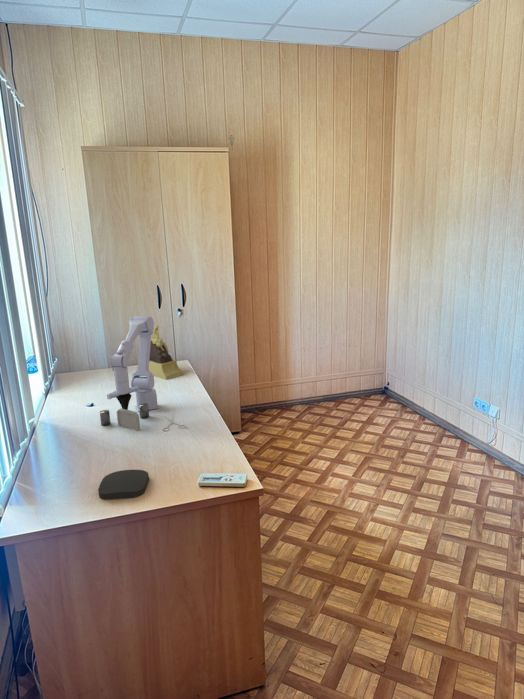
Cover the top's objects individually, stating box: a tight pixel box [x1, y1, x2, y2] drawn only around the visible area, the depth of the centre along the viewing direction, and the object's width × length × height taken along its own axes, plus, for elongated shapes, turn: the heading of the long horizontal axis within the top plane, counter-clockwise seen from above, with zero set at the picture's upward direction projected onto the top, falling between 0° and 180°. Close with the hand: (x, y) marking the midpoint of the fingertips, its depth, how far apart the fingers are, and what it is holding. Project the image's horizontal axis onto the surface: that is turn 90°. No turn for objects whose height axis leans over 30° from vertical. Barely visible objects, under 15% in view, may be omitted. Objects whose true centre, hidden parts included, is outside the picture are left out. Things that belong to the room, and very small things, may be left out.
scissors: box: [162, 414, 190, 432], centre depth 206 cm, size 11×1×20 cm
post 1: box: [99, 409, 112, 427], centre depth 206 cm, size 4×4×6 cm
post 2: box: [139, 403, 150, 420], centre depth 213 cm, size 4×4×6 cm
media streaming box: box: [97, 469, 150, 501], centre depth 153 cm, size 15×15×3 cm
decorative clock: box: [149, 324, 185, 381], centre depth 281 cm, size 28×13×30 cm, turn 46°
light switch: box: [116, 407, 141, 432], centre depth 202 cm, size 2×12×8 cm, turn 58°
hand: (125, 410), depth 208 cm, fingers closed
